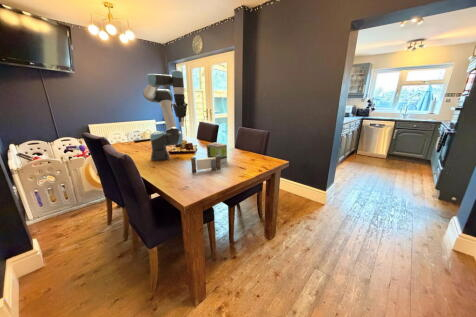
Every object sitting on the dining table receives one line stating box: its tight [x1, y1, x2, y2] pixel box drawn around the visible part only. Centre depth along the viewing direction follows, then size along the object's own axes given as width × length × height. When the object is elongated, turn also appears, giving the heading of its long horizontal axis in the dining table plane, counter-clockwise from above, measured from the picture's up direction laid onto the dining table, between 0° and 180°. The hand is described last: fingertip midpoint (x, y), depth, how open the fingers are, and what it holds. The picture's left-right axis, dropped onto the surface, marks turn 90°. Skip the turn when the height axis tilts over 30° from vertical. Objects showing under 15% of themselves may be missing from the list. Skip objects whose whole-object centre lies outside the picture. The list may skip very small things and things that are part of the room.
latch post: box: [215, 155, 222, 170], centre depth 143 cm, size 3×3×10 cm
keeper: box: [210, 159, 217, 171], centre depth 140 cm, size 1×3×8 cm, turn 113°
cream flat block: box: [196, 157, 216, 171], centre depth 139 cm, size 14×2×8 cm, turn 113°
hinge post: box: [190, 156, 197, 174], centre depth 136 cm, size 4×4×11 cm
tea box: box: [206, 141, 228, 164], centre depth 160 cm, size 15×10×15 cm, turn 45°
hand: (181, 126), depth 147 cm, fingers closed
